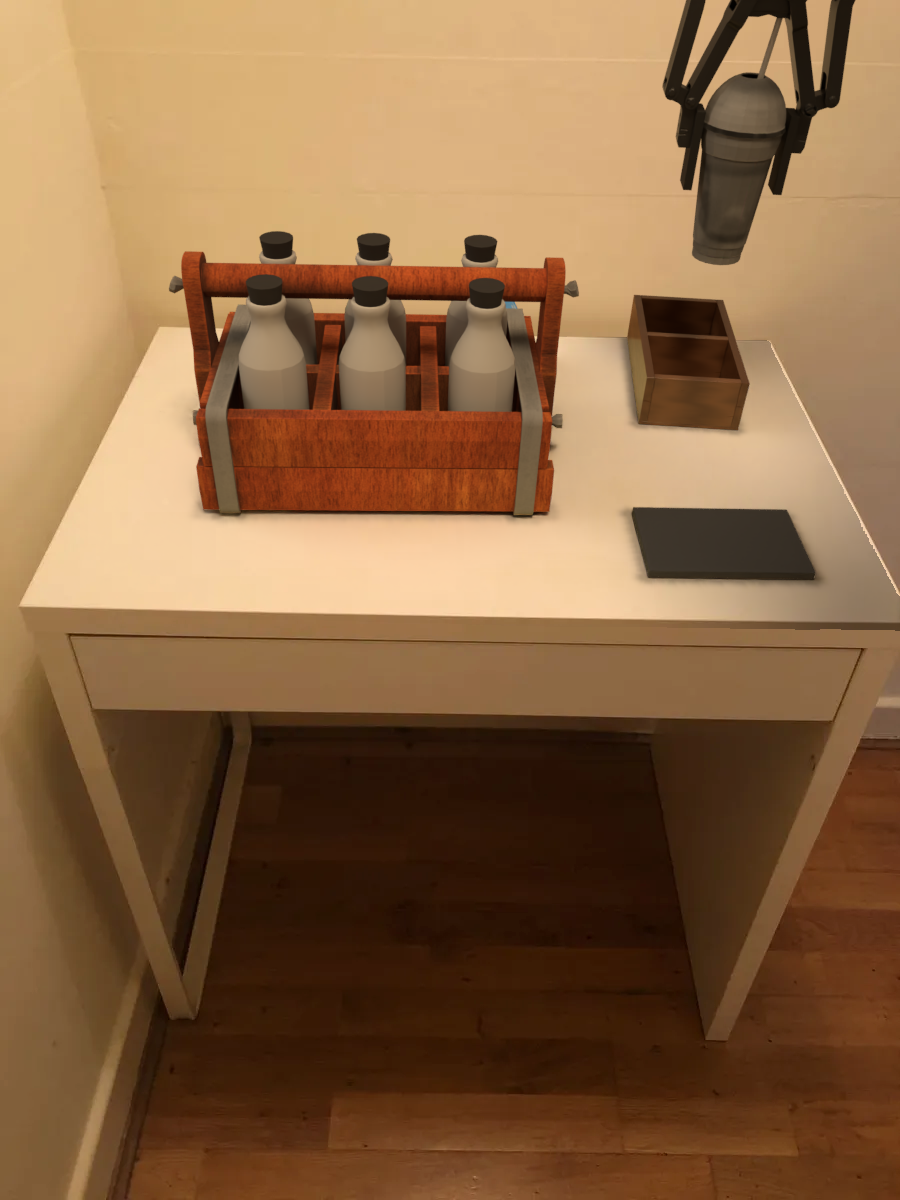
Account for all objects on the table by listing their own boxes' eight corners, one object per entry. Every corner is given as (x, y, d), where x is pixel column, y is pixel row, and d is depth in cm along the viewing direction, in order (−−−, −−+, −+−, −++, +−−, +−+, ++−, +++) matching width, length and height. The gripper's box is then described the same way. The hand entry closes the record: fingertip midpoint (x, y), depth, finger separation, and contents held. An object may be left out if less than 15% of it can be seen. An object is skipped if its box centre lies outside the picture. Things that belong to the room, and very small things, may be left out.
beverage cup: (696, 235, 97) (741, 1, 84) (766, 253, 94) (825, 13, 80) (664, 257, 92) (706, 13, 79) (736, 277, 89) (793, 27, 76)
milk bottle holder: (213, 397, 102) (186, 208, 89) (548, 400, 103) (568, 215, 91) (177, 518, 86) (137, 309, 73) (573, 520, 87) (601, 316, 75)
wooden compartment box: (713, 342, 114) (723, 299, 111) (737, 430, 100) (749, 383, 96) (626, 337, 115) (633, 294, 111) (638, 423, 100) (646, 377, 97)
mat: (784, 516, 89) (787, 509, 88) (813, 580, 82) (816, 572, 82) (631, 513, 88) (632, 506, 88) (648, 578, 82) (649, 570, 81)
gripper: (917, -126, 76) (833, 180, 91) (656, -136, 77) (616, 168, 92) (947, -116, 70) (852, 208, 85) (665, -128, 71) (620, 195, 86)
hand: (730, 187), depth 89 cm, fingers closed on beverage cup, 7 cm apart
